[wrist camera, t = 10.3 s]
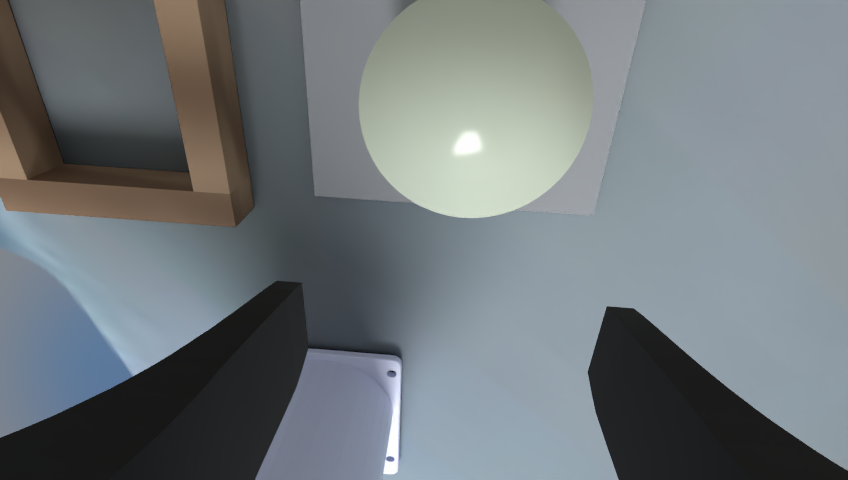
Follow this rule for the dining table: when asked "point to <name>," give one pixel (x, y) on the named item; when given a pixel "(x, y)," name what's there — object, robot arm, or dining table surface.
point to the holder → (126, 187)
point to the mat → (345, 61)
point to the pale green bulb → (475, 103)
